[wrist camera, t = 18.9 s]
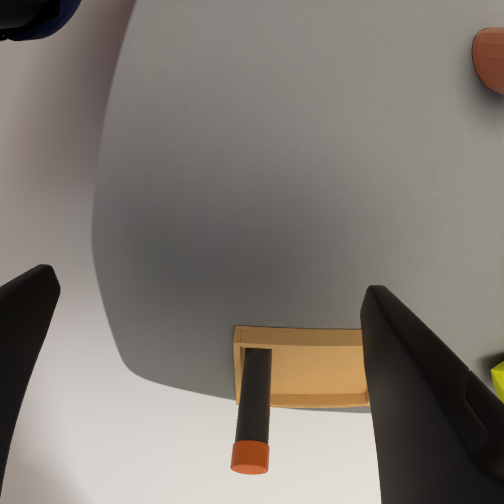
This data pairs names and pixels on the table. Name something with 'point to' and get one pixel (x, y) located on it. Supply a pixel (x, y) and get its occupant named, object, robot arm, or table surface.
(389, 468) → the robot arm
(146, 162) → the table surface
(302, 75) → the table surface
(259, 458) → the cylinder
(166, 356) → the table surface
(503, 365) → the plumb bob
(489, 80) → the pen cup
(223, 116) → the table surface
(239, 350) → the tray
